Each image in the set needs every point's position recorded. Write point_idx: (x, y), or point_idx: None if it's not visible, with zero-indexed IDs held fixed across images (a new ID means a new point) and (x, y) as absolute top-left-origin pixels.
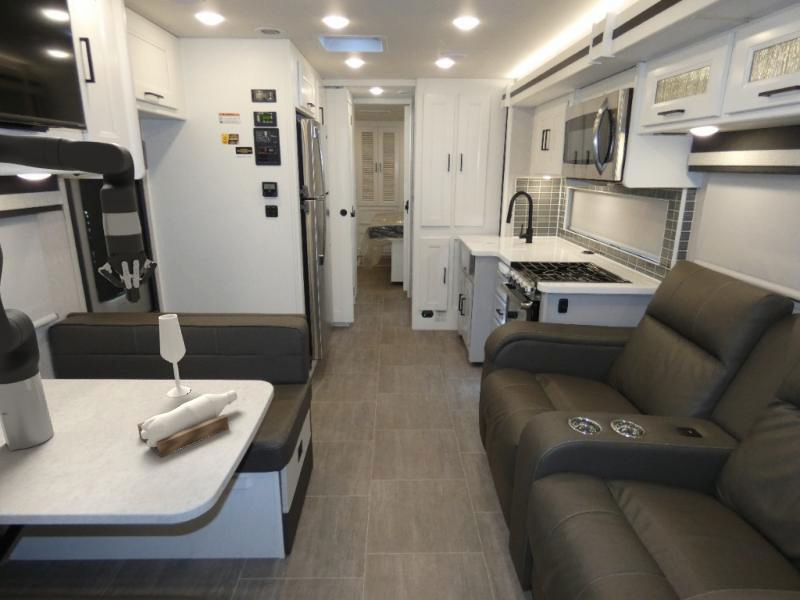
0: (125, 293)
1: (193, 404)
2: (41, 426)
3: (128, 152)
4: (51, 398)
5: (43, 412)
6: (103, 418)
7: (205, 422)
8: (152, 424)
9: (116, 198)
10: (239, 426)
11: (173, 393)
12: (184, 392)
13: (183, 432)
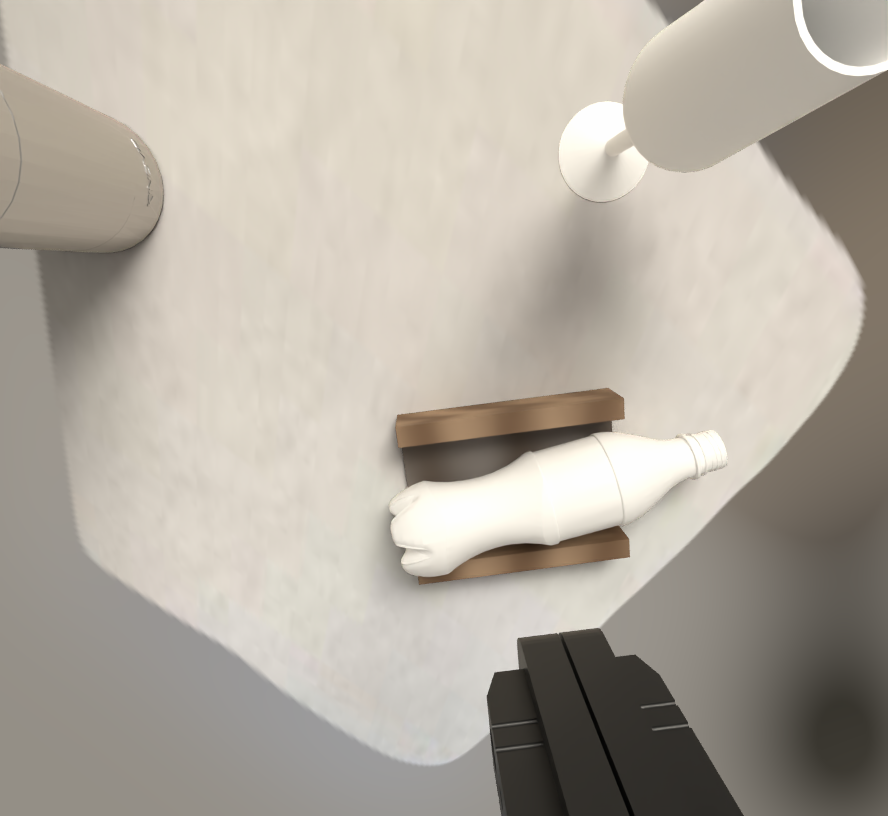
0: (502, 795)
1: (564, 527)
2: (107, 239)
3: None
4: None
5: (93, 222)
6: (321, 189)
7: (563, 551)
8: (417, 569)
9: None
10: (641, 545)
11: (579, 170)
12: (615, 188)
13: (492, 566)
